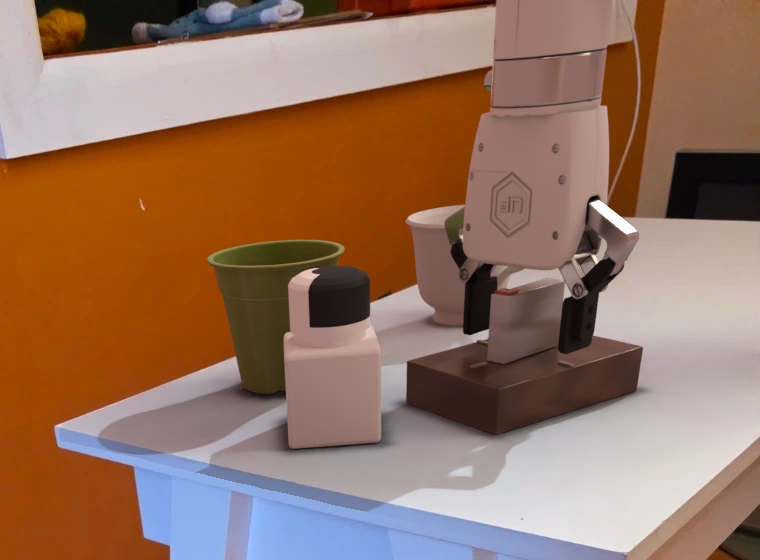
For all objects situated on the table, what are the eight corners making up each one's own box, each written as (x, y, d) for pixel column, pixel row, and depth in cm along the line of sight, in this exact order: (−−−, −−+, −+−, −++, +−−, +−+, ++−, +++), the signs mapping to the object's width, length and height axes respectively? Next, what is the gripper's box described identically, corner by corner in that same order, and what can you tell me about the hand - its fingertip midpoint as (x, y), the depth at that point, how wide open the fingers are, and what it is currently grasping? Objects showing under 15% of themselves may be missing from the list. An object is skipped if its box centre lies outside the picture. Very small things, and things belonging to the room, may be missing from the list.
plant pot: (320, 407, 82) (316, 265, 76) (197, 401, 87) (183, 267, 80) (363, 367, 90) (363, 236, 84) (249, 363, 95) (240, 239, 89)
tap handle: (541, 342, 79) (547, 274, 76) (558, 345, 78) (566, 276, 75) (486, 360, 77) (491, 290, 74) (504, 364, 75) (509, 293, 72)
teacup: (487, 344, 93) (495, 230, 87) (380, 323, 103) (380, 220, 97) (567, 317, 98) (579, 208, 92) (457, 300, 108) (462, 201, 103)
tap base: (539, 364, 86) (543, 321, 84) (637, 390, 78) (644, 344, 76) (405, 403, 81) (406, 358, 79) (495, 435, 73) (499, 386, 71)
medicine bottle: (373, 413, 79) (373, 256, 72) (381, 443, 74) (382, 276, 67) (287, 420, 80) (279, 265, 73) (288, 450, 74) (280, 285, 67)
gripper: (419, 96, 71) (413, 334, 81) (618, 88, 59) (583, 370, 69) (488, 84, 75) (475, 315, 84) (691, 75, 62) (648, 346, 72)
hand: (524, 340), depth 77 cm, fingers open, 9 cm apart
